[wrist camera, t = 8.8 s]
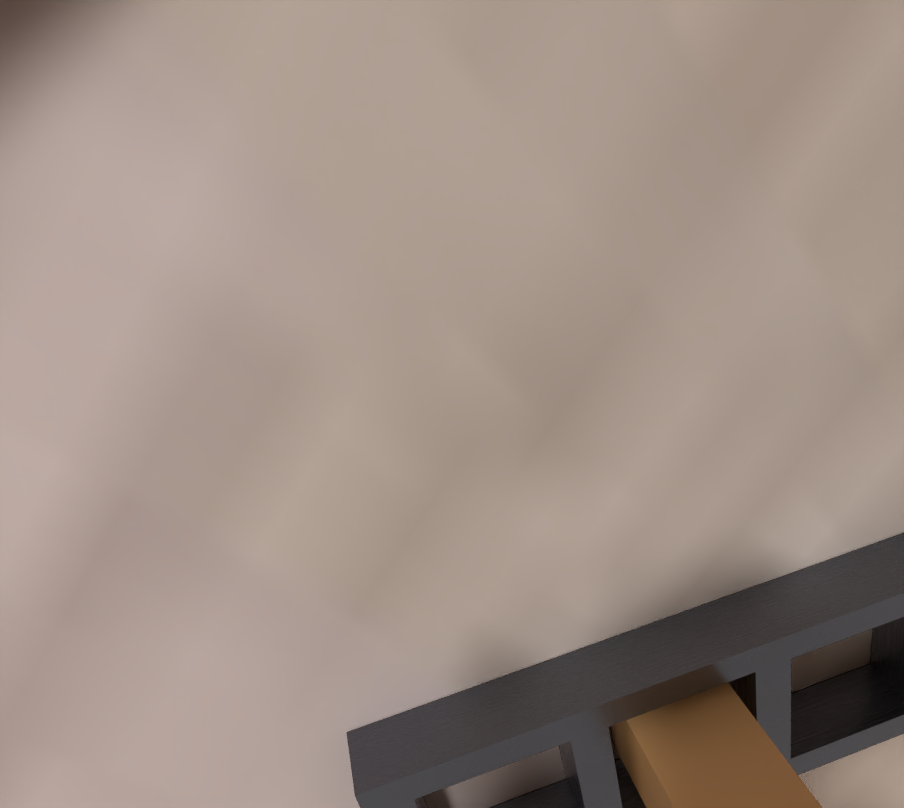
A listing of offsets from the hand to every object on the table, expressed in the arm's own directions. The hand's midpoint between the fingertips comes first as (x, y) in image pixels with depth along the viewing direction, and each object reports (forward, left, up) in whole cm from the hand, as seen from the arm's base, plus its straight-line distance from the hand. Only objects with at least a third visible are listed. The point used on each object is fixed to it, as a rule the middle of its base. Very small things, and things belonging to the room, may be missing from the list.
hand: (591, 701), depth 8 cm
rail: (-6, +18, -13) cm, 23 cm away
